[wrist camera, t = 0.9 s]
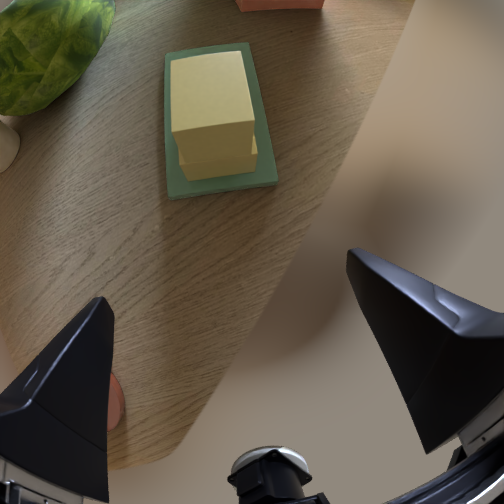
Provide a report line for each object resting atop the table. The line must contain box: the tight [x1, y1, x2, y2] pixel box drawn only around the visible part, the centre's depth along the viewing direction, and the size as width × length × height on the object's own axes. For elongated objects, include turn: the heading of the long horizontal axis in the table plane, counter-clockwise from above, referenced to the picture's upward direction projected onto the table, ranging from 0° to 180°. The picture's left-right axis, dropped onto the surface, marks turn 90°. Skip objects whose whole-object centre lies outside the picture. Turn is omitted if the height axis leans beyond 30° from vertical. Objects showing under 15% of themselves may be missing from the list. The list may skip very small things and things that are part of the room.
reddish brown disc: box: [107, 372, 125, 432], centre depth 20 cm, size 8×8×1 cm
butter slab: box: [170, 51, 255, 164], centre depth 17 cm, size 6×5×4 cm
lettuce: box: [0, 0, 116, 116], centre depth 17 cm, size 16×21×15 cm
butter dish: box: [164, 42, 279, 200], centre depth 21 cm, size 17×9×4 cm, turn 9°
